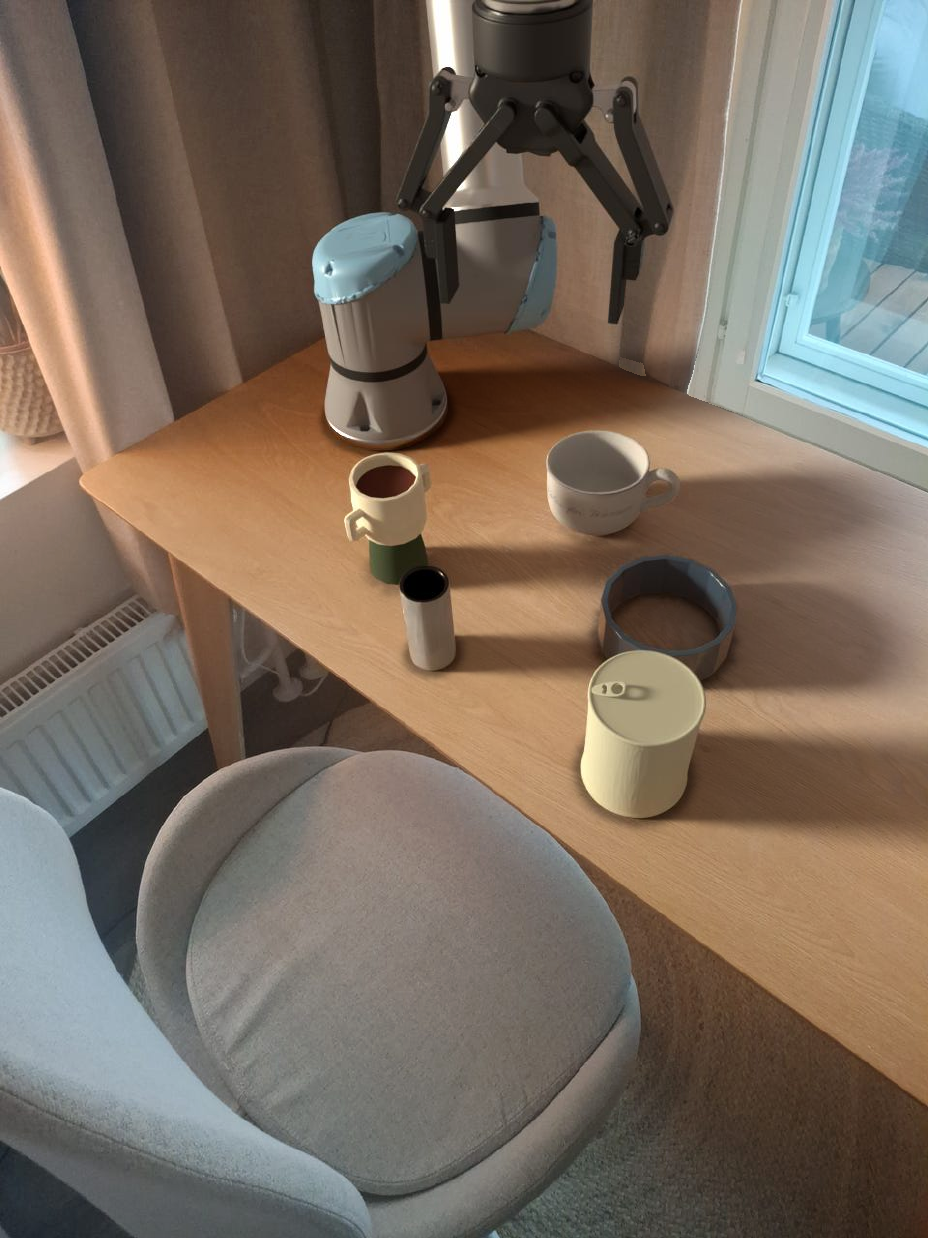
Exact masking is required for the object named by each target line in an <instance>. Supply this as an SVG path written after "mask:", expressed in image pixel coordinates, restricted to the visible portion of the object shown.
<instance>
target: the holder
mask: <svg viewBox="0 0 928 1238" xmlns="http://www.w3.org/2000/svg"><path fill="white" fill-rule="evenodd" d="M656 593H663V594H669V595H673V596H679V597H683V598H685V599H687V600H689V601H691V602H693V603H694V604H697V605H699V606H701V607H702V608H703V609H704V610H705V611H706V613H708V614H709V615H710V616H711V617H712V618H713V619H714V620H715V622H716V624H717V627H718V630H719V634H718V636H717V637H716V638H715V639H713V640H711V641H709V642H706V643H705V644H703V645H700V646H699V647H697V648H690V649H689V648H688V649H682V650H666V649H661V648H656V647H652V646H647V645H645V644H643V643H641V642H639V641H638V640H636V639H634V638H633V637H630V636H629V635H627V634H626V633H625V632H624V631H623V630H622V628H621V627H620V626H619V625H618V624H617V622H615V620H614V619H613V617H612V613H613V612H615V610H616V609H617V608H618V606H620V604H621V603H623V602H626V601H628V600H631V599H633V598H635V597H637V596H639V595H646V594H648V595H649V594H656ZM599 605H600V606H599V617H598V626H597V627H598V628H597V635H598V639H599V644H600V648H601V652H602V654H603V655H604V656H605V657H606V659H607V660H608V659H610V658H612V657H614V656H616V655H618V654H621V653H625V652H629V651H637V650H646V651H655V652H660V653H663V654H666V655H669V656H671V657H673V658H676V659H677V660H679V661H681V662H682V663H684V664H685V665H686V666H688V667H689V668H690V669H691V670H692V671H693V672H694V673H695V675H696V676H697V677H698V679H699V680H700V682H702V681H703V680H705V679H708V678H709V677H711V676H714V674H715V673H716V672H717V670H718V669H719V668H720V666H721V665H722V664H723V662H725V660H726V659H727V655H728V652H729V647H730V644H731V641H732V637H733V633H734V630H735V626H736V620H737V613H738V607H739V606H738V603H737V600H736V598H735V595H734V593H733V590H732V587H731V585H730V584H728V582H726V580H724V579H723V577H722V576H721V575H720V574H719V573H717V571H715V570H714V569H713V568H711V567H709V566H707V565H705V564H703V563H701V562H699V561H696V560H694V559H693V558H687V557H682V556H679V555H677V556H676V555H671V554H657V555H648V556H641V557H638V558H636V559H634V560H632V561H630V562H627V563H625V564H623V565H620V566H619V567H618V569H616V571H615V572H614V573H613V574H611V576H610V577H609V578H608V579H607V580H606V581H605V584H604V587H603V592H602V595H601V598H600V604H599Z"/></svg>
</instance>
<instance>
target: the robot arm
mask: <svg viewBox="0 0 928 1238" xmlns="http://www.w3.org/2000/svg"><path fill="white" fill-rule="evenodd" d="M425 6H426V15H427V16H426V17H427V26H428V35H429V47H430V56H431V66H432V75H433V79H432V80H431V81H430V83H429V84H428V92H427V93H428V96H427V99H428V100H427V101H428V102H427V116H426V118H425V121H424V123H423V126H422V129H421V132H420V133H419V134H420V135H419V137H418V140H417V142H416V145H415V147H414V150H413V153H412V155H411V158H410V160H409V163H408V166H407V168H406V171H405V174H404V176H403V179H402V182H401V185H400V188H399V189H398V193H397V196H396V199H395V205H396V207H397V208H398V209H399V211H402V212H407V211H411V212H413V213H415V214H417V215H418V216H419V217H420V219H421V223H422V230H418V229H417V227H416V226H415V225H414V222H413V221H412V220H411V219H410V218H409V217H407V216H405V215H403V214H401V213H400V214H399V213H396V214H393V213H391V212H389V211H388V212H386V211H385V212H384V211H383V212H382V211H381V212H372V213H367V214H361V215H359V216H355V217H353V218H350V219H348V220H345V221H344V222H341V223H339V224H338V225H336V226H335V227H333V228H331V230H330V231H328V232H327V233H326V234H325V235H323V237H322V238H321V239H320V240H319V241H318V242H317V245H316V246H315V248H314V250H313V254H312V257H311V258H312V259H311V260H312V261H311V262H312V263H311V265H312V273H313V280H314V285H313V293H314V296H315V298H316V299H317V301H318V305H319V310H320V315H321V320H322V321H321V322H322V326H323V332H324V337H325V342H326V348H327V353H328V357H329V364H330V365H329V367H330V368H329V373H328V377H327V378H328V379H327V385H326V391H325V396H324V409H323V410H324V415H325V419H326V423H327V426H328V429H329V430H330V432H331V434H333V436H334V437H335V438H337V439H338V440H339V441H341V442H342V443H344V444H346V445H348V446H351V447H354V448H357V449H359V450H360V449H361V450H365V451H375V452H378V451H381V452H383V451H384V452H385V451H394V450H399V449H404V448H407V447H410V446H413V445H414V446H415V445H416V444H418V443H421V442H423V441H424V440H426V439H428V438H429V437H430V436H432V435H434V434H435V433H436V432H437V431H438V430H439V429H440V427H441V426H442V425H443V423H444V422H445V421H446V420H445V419H446V418H447V415H448V408H449V406H448V395H447V391H446V388H445V385H444V382H443V380H442V379H441V376H440V374H439V372H438V371H437V369H436V366H435V364H434V362H433V360H432V359H431V356H430V355H429V354H430V353H429V351H428V342H434V341H444V340H452V339H460V338H461V339H462V338H469V337H478V336H485V335H496V334H502V333H503V334H505V335H510V334H511V333H512V332H518V331H525V330H531V329H535V328H538V327H539V326H541V325H543V323H544V322H545V321H546V320H547V318H548V316H549V315H550V313H551V309H552V306H553V302H554V297H555V290H556V284H557V283H556V281H557V270H558V242H557V227H556V223H555V221H554V219H553V218H552V217H550V216H547V215H545V214H542V215H541V212H540V211H541V210H540V199H539V197H537V196H536V195H535V193H533V192H532V191H531V190H530V189H529V188H528V187H527V185H526V184H525V182H524V171H523V170H524V168H523V156H522V155H523V154H524V153H530V154H533V155H535V156H538V157H551V156H552V154H554V153H557V152H559V154H560V155H561V157H562V158H563V160H564V161H565V162H566V163H567V165H568V166H570V167H572V168H574V169H575V170H576V172H577V174H579V176H580V177H581V178H582V180H583V181H584V182H585V184H586V185H587V186H588V189H589V190H590V191H591V193H592V194H593V195H594V196H595V198H596V199H597V200H598V202H599V204H600V205H601V206H602V207H603V208H604V210H605V211H606V213H607V214H608V216H609V217H610V218H611V220H612V221H613V223H614V224H615V225H616V226H617V228H618V231H617V234H616V236H615V239H614V241H613V251H612V264H611V277H610V287H609V288H610V290H609V301H608V314H607V324H609V325H610V324H611V325H618V324H619V321H620V318H621V315H622V313H623V310H624V308H625V303H626V302H625V301H626V300H625V299H626V291H627V290H626V288H627V281H635V282H636V281H637V279H638V278H639V275H640V272H641V270H642V267H643V263H644V260H643V259H644V251H645V242H646V238H648V237H649V236H653V235H655V236H659V237H663V236H665V235H666V234H667V233H668V232H669V228H670V226H671V222H672V220H673V216H674V214H675V209H674V206H673V203H672V200H671V198H670V197H671V196H670V194H669V191H668V189H667V187H666V184H665V181H664V178H663V176H662V173H661V170H660V167H659V165H658V162H657V159H656V157H655V154H654V151H653V148H652V145H651V143H650V141H649V138H648V135H647V132H646V129H645V127H644V124H643V121H642V119H641V116H640V113H639V111H640V110H639V84H638V81H637V79H636V78H635V77H633V76H631V75H628V76H625V77H623V78H622V79H621V81H620V83H610V84H595V82H594V80H593V78H592V73H591V53H592V52H591V51H592V33H593V32H592V30H593V12H594V11H593V8H594V0H425ZM593 108H597V109H599V110H600V111H601V113H602V115H603V119H604V120H605V122H607V124H613V131H614V135H615V139H616V142H617V145H618V148H619V150H620V152H621V155H622V157H623V160H624V163H625V166H626V168H627V171H628V173H629V176H630V178H631V181H632V183H633V186H634V188H635V191H636V194H637V196H638V199H639V201H638V199H637V197H636V196H635V195H634V193H633V192H632V191H631V189H630V188H629V186H628V185H627V183H626V182H625V181H624V179H623V177H621V175H620V174H619V173H618V170H616V168H615V167H614V165H613V163H612V162H611V161H610V159H609V158H608V156H607V155H606V154H605V152H604V151H603V150H602V148H601V147H600V145H599V144H598V142H597V140H596V136H595V134H594V132H593V130H592V129H591V127H590V126H589V123H587V122H586V120H585V119H586V117H587V116H588V115H589V114H590V113H591V111H592V109H593ZM439 148H440V156H441V165H442V178H441V179H440V181H439V182H438V183H437V185H436V186H435V187H434V188H433V190H432V191H429V190H427V189H425V188H424V186H425V183H426V181H427V178H428V176H429V173H430V171H431V168H432V166H433V163H434V160H435V158H436V155H437V153H438V150H439Z"/></svg>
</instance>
